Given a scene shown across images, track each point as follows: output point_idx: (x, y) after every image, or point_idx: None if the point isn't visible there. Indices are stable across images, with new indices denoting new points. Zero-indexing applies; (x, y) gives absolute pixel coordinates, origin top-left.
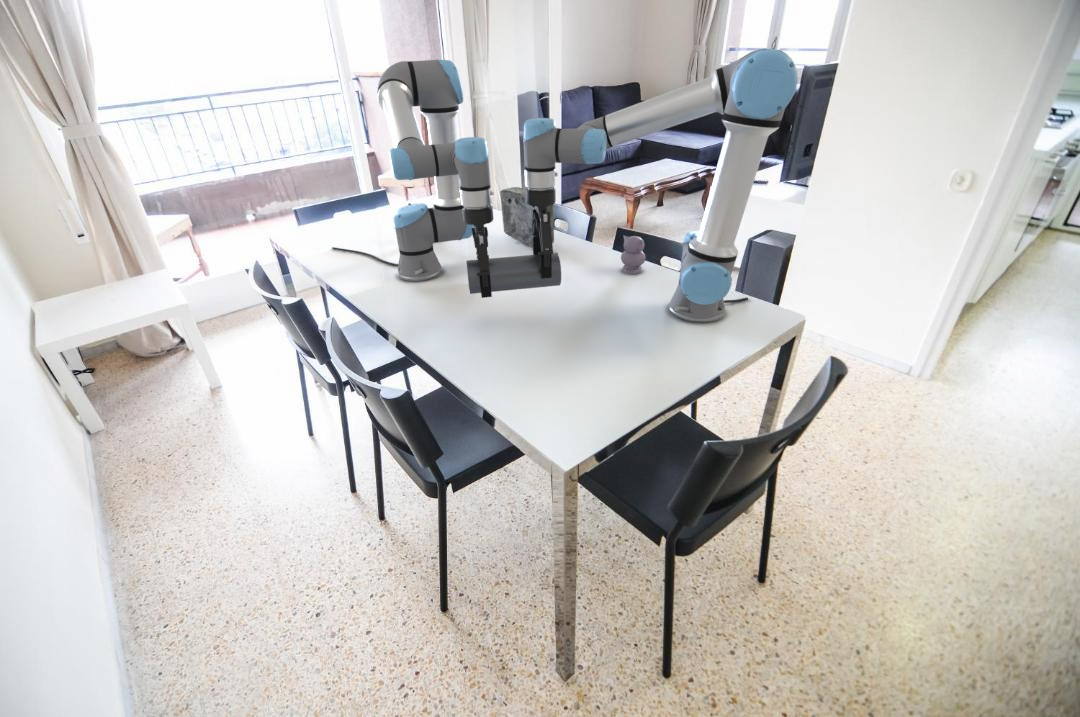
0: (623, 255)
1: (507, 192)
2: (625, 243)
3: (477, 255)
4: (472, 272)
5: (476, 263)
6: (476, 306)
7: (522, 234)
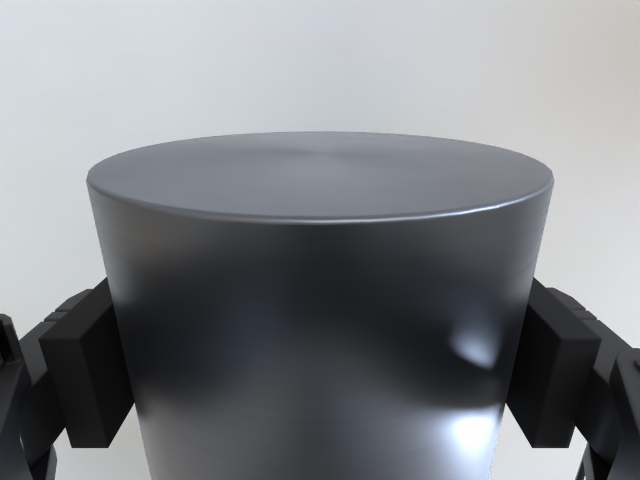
0: None
1: None
2: None
3: (633, 420)
4: (106, 259)
5: (217, 389)
6: (548, 136)
7: None
